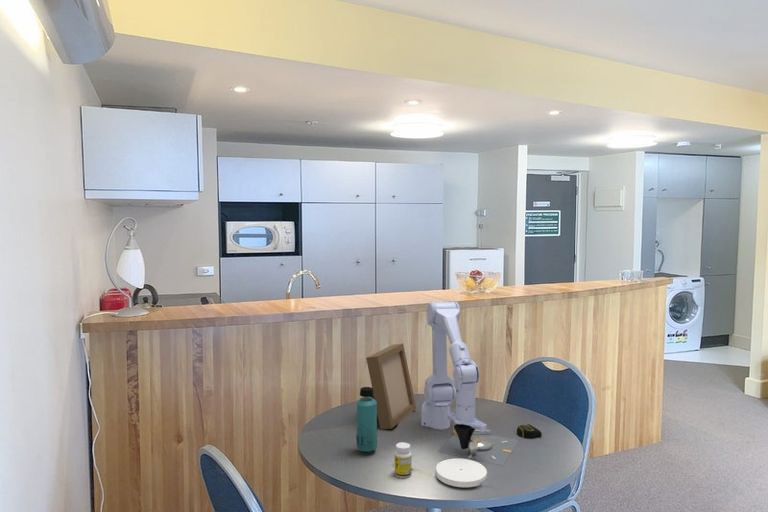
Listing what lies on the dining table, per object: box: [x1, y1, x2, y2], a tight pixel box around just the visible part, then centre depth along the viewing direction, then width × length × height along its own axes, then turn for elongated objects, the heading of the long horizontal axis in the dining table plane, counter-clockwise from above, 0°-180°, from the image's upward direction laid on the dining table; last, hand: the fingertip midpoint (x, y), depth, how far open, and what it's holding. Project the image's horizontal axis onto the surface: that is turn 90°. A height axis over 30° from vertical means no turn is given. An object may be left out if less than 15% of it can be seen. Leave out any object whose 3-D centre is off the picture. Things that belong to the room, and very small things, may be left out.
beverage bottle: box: [355, 386, 378, 452], centre depth 164 cm, size 6×7×20 cm
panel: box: [436, 432, 519, 467], centre depth 167 cm, size 20×20×1 cm
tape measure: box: [516, 423, 543, 440], centre depth 176 cm, size 7×7×4 cm
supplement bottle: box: [394, 441, 413, 479], centre depth 150 cm, size 5×5×8 cm
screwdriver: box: [452, 428, 492, 436], centre depth 176 cm, size 12×2×2 cm, turn 88°
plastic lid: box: [435, 457, 488, 488], centre depth 148 cm, size 14×14×2 cm
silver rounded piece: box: [468, 436, 492, 455], centre depth 165 cm, size 12×8×4 cm, turn 153°
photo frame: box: [365, 343, 417, 430], centre depth 193 cm, size 15×22×25 cm
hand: (464, 448), depth 162 cm, fingers closed
